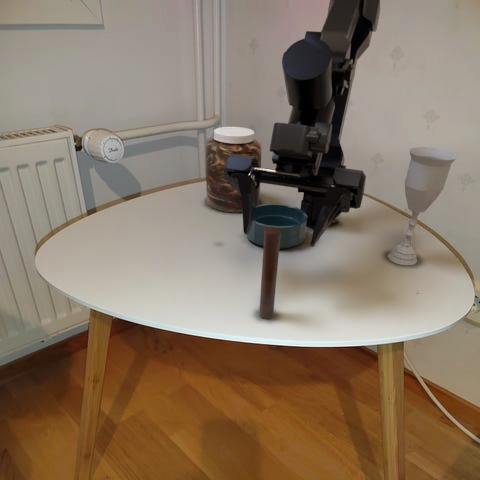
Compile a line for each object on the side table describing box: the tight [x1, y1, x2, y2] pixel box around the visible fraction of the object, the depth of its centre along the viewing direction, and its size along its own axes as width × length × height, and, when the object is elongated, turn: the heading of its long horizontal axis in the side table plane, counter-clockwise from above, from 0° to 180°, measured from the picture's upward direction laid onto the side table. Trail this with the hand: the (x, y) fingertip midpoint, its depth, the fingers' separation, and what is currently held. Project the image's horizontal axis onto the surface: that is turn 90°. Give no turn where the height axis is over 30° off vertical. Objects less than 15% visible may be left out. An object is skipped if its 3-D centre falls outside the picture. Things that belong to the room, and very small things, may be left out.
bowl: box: [246, 203, 308, 250], centre depth 79 cm, size 11×11×4 cm
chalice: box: [387, 146, 458, 266], centre depth 69 cm, size 7×7×18 cm
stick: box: [258, 227, 281, 320], centre depth 56 cm, size 2×2×13 cm
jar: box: [205, 126, 262, 213], centre depth 89 cm, size 12×12×15 cm
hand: (277, 239), depth 56 cm, fingers open, 9 cm apart
